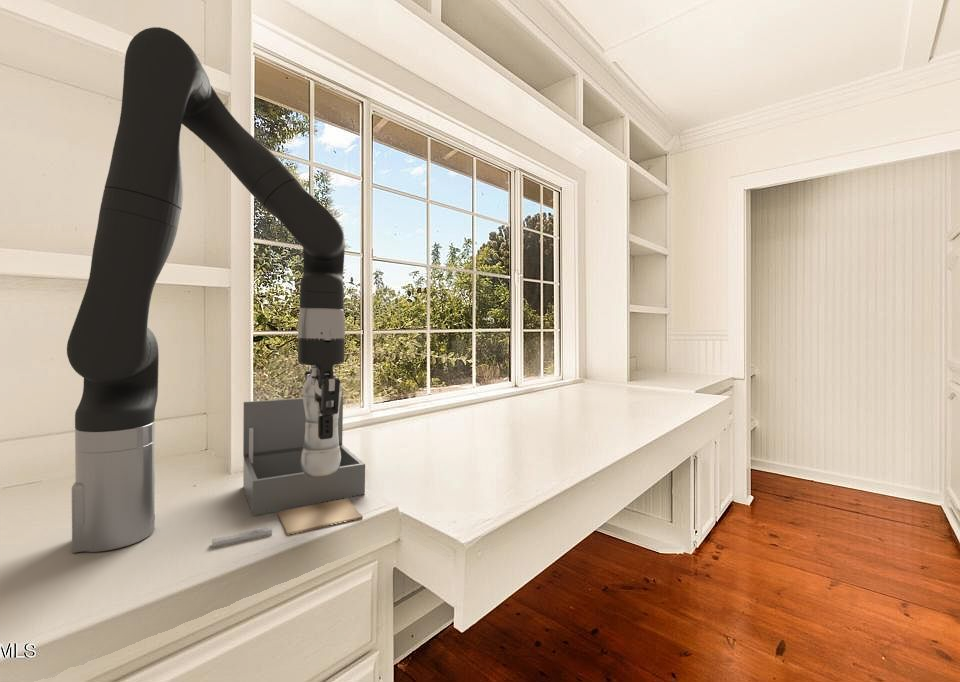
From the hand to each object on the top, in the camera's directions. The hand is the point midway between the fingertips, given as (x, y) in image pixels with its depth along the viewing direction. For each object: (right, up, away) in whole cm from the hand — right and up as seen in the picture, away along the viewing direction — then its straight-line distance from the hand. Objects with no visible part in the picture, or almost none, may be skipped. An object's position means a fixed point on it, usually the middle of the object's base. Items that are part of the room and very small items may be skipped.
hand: (320, 433), depth 76 cm
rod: (-9, -15, -8) cm, 19 cm away
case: (-8, -14, +12) cm, 20 cm away
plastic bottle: (0, -7, 0) cm, 7 cm away
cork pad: (0, -14, +1) cm, 14 cm away
